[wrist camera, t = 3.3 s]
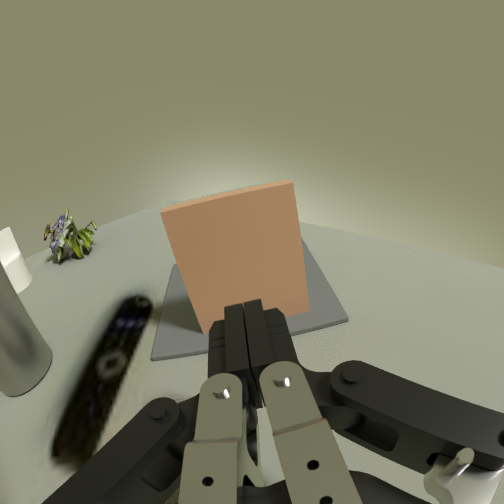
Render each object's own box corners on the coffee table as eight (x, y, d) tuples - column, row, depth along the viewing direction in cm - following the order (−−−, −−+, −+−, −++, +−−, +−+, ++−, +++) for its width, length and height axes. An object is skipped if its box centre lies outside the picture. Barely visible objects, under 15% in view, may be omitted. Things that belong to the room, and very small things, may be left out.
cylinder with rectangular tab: (19, 277, 52) (-2, 230, 47) (39, 274, 50) (16, 223, 45) (-4, 299, 44) (-29, 250, 39) (13, 299, 42) (-13, 244, 37)
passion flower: (72, 282, 56) (40, 245, 55) (103, 251, 63) (72, 216, 61) (70, 266, 48) (34, 223, 46) (108, 230, 54) (72, 191, 52)
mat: (152, 360, 25) (150, 358, 25) (174, 266, 41) (173, 264, 41) (348, 321, 25) (348, 317, 25) (300, 239, 41) (300, 236, 41)
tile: (203, 333, 27) (160, 212, 21) (203, 323, 28) (163, 206, 23) (309, 311, 27) (292, 182, 21) (305, 301, 28) (288, 178, 23)
